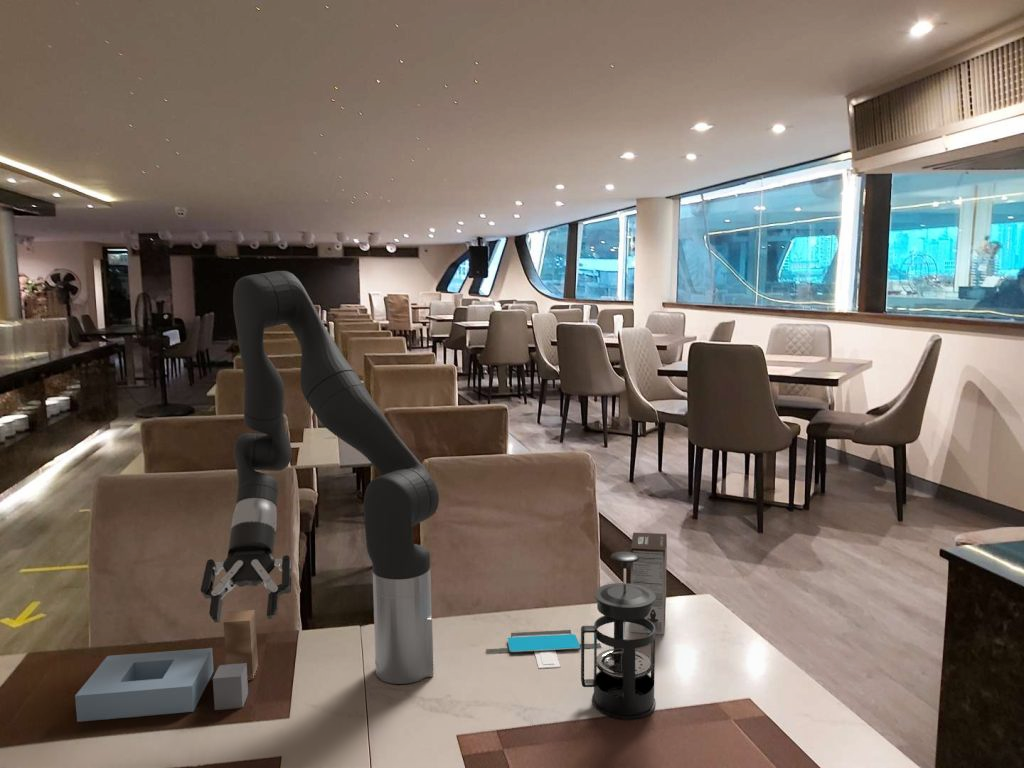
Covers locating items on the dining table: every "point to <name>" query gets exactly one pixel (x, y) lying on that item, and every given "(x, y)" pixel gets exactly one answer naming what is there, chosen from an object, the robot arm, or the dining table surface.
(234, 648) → the walnut pin
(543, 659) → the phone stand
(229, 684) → the grey upright block
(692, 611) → the dining table surface
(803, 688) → the dining table surface
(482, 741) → the dining table surface
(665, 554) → the coffee box
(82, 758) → the dining table surface
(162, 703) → the blue-grey flat frame
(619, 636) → the french press
